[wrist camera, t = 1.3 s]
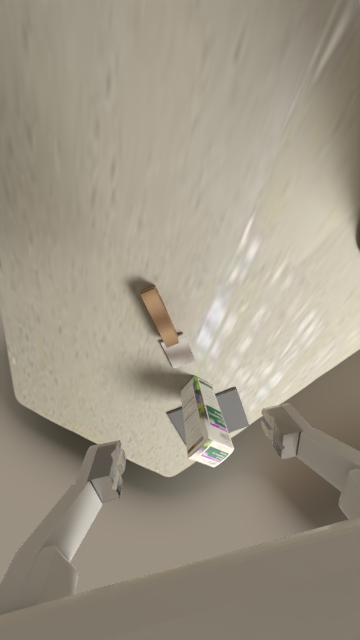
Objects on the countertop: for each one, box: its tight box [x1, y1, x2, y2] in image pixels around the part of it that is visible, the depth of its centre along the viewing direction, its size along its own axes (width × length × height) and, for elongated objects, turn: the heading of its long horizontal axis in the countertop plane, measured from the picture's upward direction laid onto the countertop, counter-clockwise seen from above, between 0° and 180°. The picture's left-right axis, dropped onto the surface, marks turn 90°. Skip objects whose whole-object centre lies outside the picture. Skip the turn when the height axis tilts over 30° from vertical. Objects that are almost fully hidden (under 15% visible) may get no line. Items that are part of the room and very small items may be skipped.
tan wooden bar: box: [140, 286, 195, 369], centre depth 33 cm, size 18×5×4 cm, turn 22°
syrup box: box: [181, 376, 234, 467], centre depth 34 cm, size 6×6×14 cm
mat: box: [168, 387, 249, 446], centre depth 44 cm, size 18×14×1 cm
